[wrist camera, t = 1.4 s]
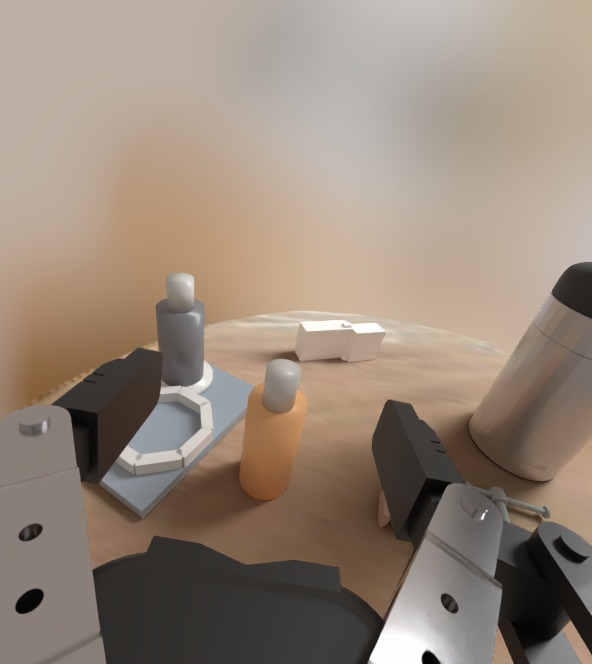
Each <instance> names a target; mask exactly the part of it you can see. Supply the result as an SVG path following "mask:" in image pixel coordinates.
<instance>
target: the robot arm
mask: <svg viewBox="0 0 592 664" xmlns="http://www.w3.org/2000/svg"><path fill="white" fill-rule="evenodd" d="M162 365H163V354H162V353H161V352H158V351H153V350H149V349H144V348H137V349H136V350H134V351H133V352H132V353H131V354H130V355H129V356H127V357H126V358H125V359H120V358H118V359H115V360H113V361H110V362H107V363H105V364H103V365H101V366H100V367H99V368H97V369H96V370H95V371H94V372H92V374H90V375H89V376H87V377H86V378H85V379H83V382H82V381H81V382H80V383H78V384H77V385H76V386H74V387H73V388H72V389H71V390H69V391H68V392H67V393H65V394H64V395H63V396H62V397H60V398H59V399H58V400H57V401H55V402H54V403H53V404H51V405H38V406H32V407H27V408H23V409H20V410H18V411H15V412H13V413H11V414H9V415H7V416H6V417H4V418H3V419H2V420H1V421H0V664H492V660H493V653H494V646H495V639H496V632H497V625H498V627H499V629H500V632H501V634H502V636H503V639H504V641H505V644H506V646H507V648H508V651H509V653H510V656H511V658H512V660H513V663H514V664H582V663H581V662H580V660H579V658H578V656H577V655H576V653H575V651H574V649H573V648H572V646H571V644H570V642H569V641H568V639H567V637H566V635H565V633H564V632H563V630H562V629H563V628H564V627H565V626H566V625H567V623H568V622H569V621H570V620H571V621H572V623H573V624H574V626H575V628H576V629H577V631H578V633H579V634H580V636H581V638H582V639H583V641H584V643H585V644H586V646H587V648H588V649H589V651H590V653H591V654H592V546H591V545H590V544H589V543H587V542H586V541H585V540H584V539H583V538H581V537H580V536H579V535H577V534H576V533H574V532H573V531H571V530H569V529H568V528H566V527H564V526H561V525H559V524H556V523H553V522H541V523H540V524H539V525H538V527H537V528H536V529H535V531H534V532H533V533H532V532H529V531H527V530H525V529H522V528H520V527H518V526H516V525H513V524H511V523H509V522H507V521H504V520H503V518H502V515H501V513H500V511H499V510H498V508H497V507H496V506H495V505H494V503H493V502H492V501H491V500H490V499H488V498H487V497H486V496H485V495H484V494H482V493H481V492H479V491H478V490H476V489H474V488H472V487H470V486H467V485H465V483H464V482H463V480H462V478H461V476H460V475H459V473H458V471H457V470H456V468H455V466H454V464H453V463H452V461H451V459H450V457H449V456H448V454H446V451H445V449H444V447H443V445H441V442H440V440H439V438H438V437H437V435H436V433H435V432H434V430H433V429H431V428H430V427H429V426H428V425H427V424H426V423H425V422H424V421H423V420H419V418H418V416H417V414H416V412H415V411H414V409H413V407H412V405H411V404H409V403H404V402H400V401H395V400H388V401H387V402H386V403H385V406H384V408H383V411H382V413H381V416H380V419H379V421H378V424H377V427H376V429H375V432H374V435H373V439H372V452H373V456H374V459H375V463H376V467H377V470H378V474H379V477H380V481H381V485H382V488H383V492H384V495H385V499H386V503H387V506H388V510H389V513H390V517H391V521H392V524H393V528H394V531H395V535H396V539H398V540H403V541H409V542H412V543H413V546H414V550H413V552H412V554H411V556H410V558H409V560H408V562H407V564H406V567H405V569H404V571H403V573H402V575H401V577H400V579H399V581H398V583H397V586H396V588H395V590H394V592H393V594H392V596H391V598H390V600H389V602H388V605H387V607H386V609H385V611H384V613H383V615H382V617H380V616H379V615H378V613H377V612H376V611H375V610H374V609H373V608H372V607H370V606H369V605H368V604H367V603H366V602H365V601H364V600H362V599H361V598H360V597H359V596H357V595H356V594H354V593H353V592H351V591H350V590H348V589H346V588H345V587H342V586H341V585H340V574H339V568H338V567H332V566H326V565H321V564H315V563H309V562H303V561H298V560H290V561H281V562H271V563H262V564H253V565H246V564H243V563H240V562H238V561H236V560H234V559H232V558H230V557H227V556H225V555H223V554H221V553H219V552H217V551H215V550H213V549H211V548H209V547H206V546H204V545H202V544H199V543H193V542H188V541H182V540H176V539H170V538H164V537H159V536H154V537H153V539H152V542H151V544H150V546H149V548H148V550H147V552H145V553H137V554H133V555H128V556H124V557H121V558H118V559H115V560H112V561H110V562H108V563H106V564H103V565H101V566H99V567H97V568H95V569H93V570H92V564H91V557H90V549H89V541H88V534H87V526H86V518H85V510H84V503H83V495H82V487H81V483H82V481H83V482H88V483H94V484H99V483H100V481H101V480H102V479H103V477H104V476H105V475H106V473H107V472H108V471H109V469H110V468H111V467H112V465H113V464H114V463H115V461H116V460H117V458H118V457H119V456H120V454H121V453H122V452H123V450H124V449H125V448H126V446H127V445H128V444H129V442H130V441H131V440H132V438H133V437H134V436H135V434H136V433H137V432H138V430H139V429H140V428H141V426H142V425H143V423H144V422H145V421H146V419H147V418H148V417H149V415H150V414H151V413H152V411H153V410H154V409H155V407H156V405H157V403H158V400H159V396H160V391H161V379H162ZM469 431H470V434H471V436H472V438H473V440H474V442H475V443H476V445H477V446H478V447H479V448H480V449H481V451H482V452H483V453H484V454H485V455H486V456H488V457H489V458H490V459H491V460H492V461H493V462H495V463H496V464H498V465H499V466H501V467H502V468H504V469H505V470H507V471H509V472H511V473H513V474H515V475H517V476H520V477H522V478H525V479H529V480H533V481H547V480H550V479H552V478H554V477H555V476H556V475H557V474H558V473H559V472H560V471H561V470H562V469H563V468H564V467H565V466H566V464H567V463H568V462H569V461H570V460H571V459H572V458H573V457H574V456H575V455H576V454H577V453H578V452H579V451H580V450H581V449H582V448H583V447H584V446H585V445H586V444H587V443H588V442H589V441H590V440H591V439H592V262H584V263H578V264H574V265H572V266H570V267H569V268H568V269H567V270H566V271H565V272H564V273H563V274H562V275H561V277H560V278H559V280H558V282H557V283H556V285H555V286H554V288H553V290H552V292H551V293H550V295H549V296H548V298H547V299H546V301H545V302H544V304H543V306H542V307H541V309H540V310H539V312H538V314H537V315H536V317H535V318H534V320H533V322H532V323H531V325H530V326H529V328H528V330H527V331H526V333H525V334H524V336H523V337H522V339H521V341H520V342H519V344H518V345H517V347H516V349H515V350H514V352H513V353H512V355H511V356H510V358H509V359H508V361H507V363H506V364H505V366H504V367H503V369H502V370H501V372H500V374H499V375H498V377H497V378H496V380H495V382H494V383H493V385H492V386H491V388H490V389H489V391H488V393H487V394H486V395H485V397H484V399H483V400H482V402H481V403H480V405H479V406H478V408H477V410H476V411H475V413H474V414H473V416H472V418H471V419H470V421H469Z"/></svg>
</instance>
